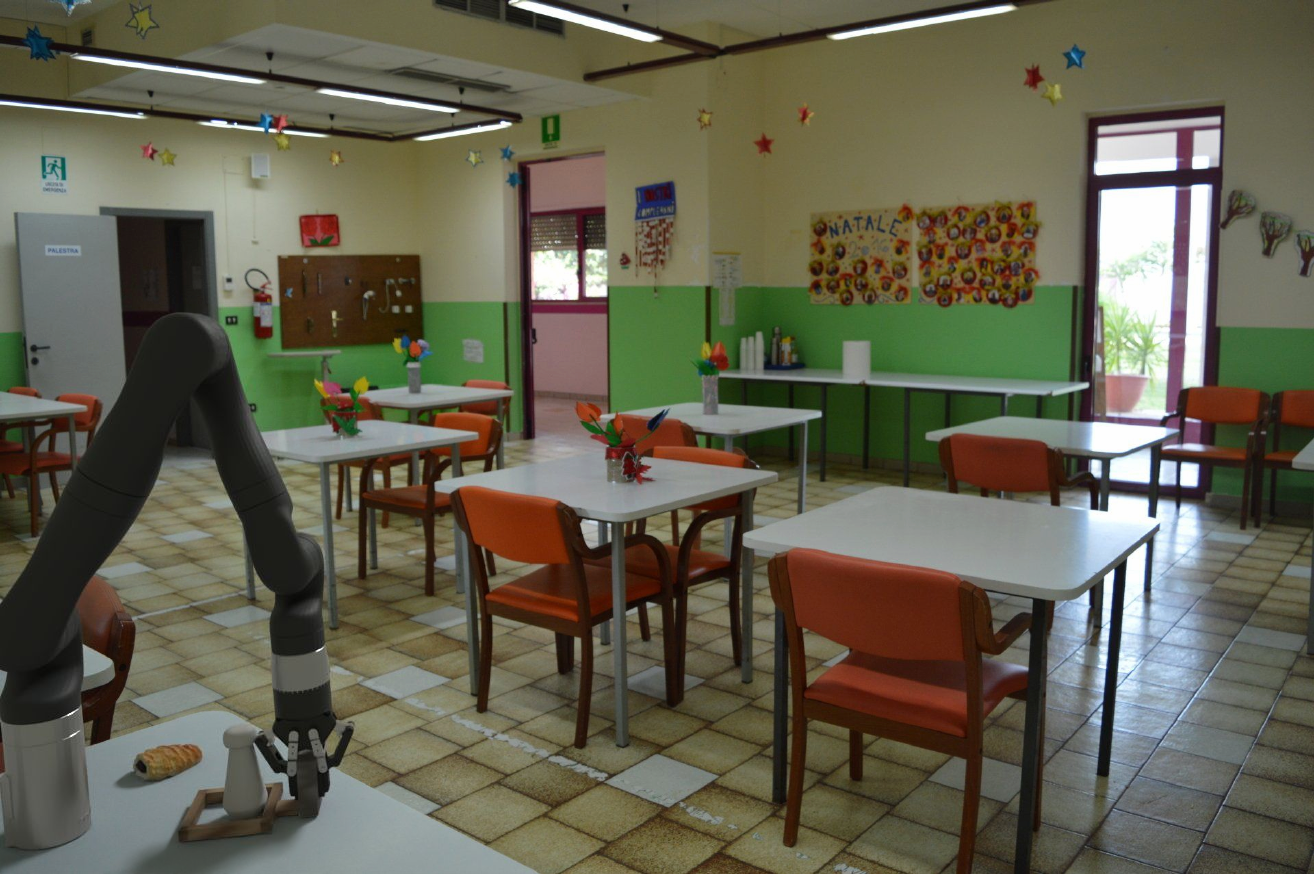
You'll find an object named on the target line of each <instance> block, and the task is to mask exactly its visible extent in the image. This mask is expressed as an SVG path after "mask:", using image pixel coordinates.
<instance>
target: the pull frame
mask: <svg viewBox="0 0 1314 874" xmlns="http://www.w3.org/2000/svg"><path fill="white" fill-rule="evenodd" d="M296 768H297V787H298V800H295V798H291V799H283V800H282V796H283V794H284V783H283V781H278V782H269V783H268V782H267V783H265V786H266V790H267V793H268V798H267V802H266V804H265V807H264V810H263V813H262V816H261V817H259V818H258V819H249V820H239V821H232V820H231V821H221V822H212V823H211V822H210V823H203V824H202V823H201V824H198V822H199V820H200V818H201V815H202V813H203V810H205V806H206V805H207V804H211V803H220V802H222V803H223V797H224V789H225V787H217V788H216V787H215V788H206V789H198V790H197V793H196V795H195V797H194V798H193V800H192V802H191V804H190V807H189V808H188V811H187V813H186V815H185V816H184V819H183V821H182V822H181V825H179V829H178V830H177V832H178V842H181V843H182V842H189V841H199V840H207V839H216V838H217V839H218V838H226V837H227V838H229V837H237V836H245V835H247V836H248V835H254V834H255V835H256V834H265V833H270V832H271V830H272V828H273V824H274V822H275V818H276V817H282V816H283V817H284V816H295V815H298V818H307V817H308V818H309V817H318V816H319V814H320V809H321V805H322V802H323V797H319V790H318V775H317V774H318V770H319V769H318V765H317V759H316V758H315V757H314V753H313V750H307V749H306V750H303V751H300V753H299V756H298V759H297V762H296Z"/></svg>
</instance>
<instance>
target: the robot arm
mask: <svg viewBox="0 0 1314 874" xmlns="http://www.w3.org/2000/svg"><path fill="white" fill-rule="evenodd" d="M236 362H237V361H236V359H235V356H234V351H233V348H232V346H231V341H230V338H229V335H228V332H227V331H226V329H225V328H224V327H223V326H222V325H221V324H220V322H218V321H217V320H215V318H212V317H210V316H208V315H206V314H205V315H204V314H202V313H196V312H184V311H183V312H174V313H169V314H167V315H163V316H162V317H160V318H159V319H156V320H155V321H154V322H153V323H152V324H151V325H150V326H149V327H148V329H147V330H146V331H145V334H144V336H143V338H142V340H141V343H140V344H139V347H138V351H137V352H136V354H135V358H134V360H133V362H132V365H131V368H130V369H129V373H128V375H127V378H126V379H125V382H124V384H123V386H122V388H121V391H120V394H118V395H119V396H118V397H117V399H116V401H115V402H114V405H113V406H112V407H111V409H110V411H109V412H108V414H107V415H106V417H105V418H104V419H103V422H102V423H101V424H100V426H99V427H98V429H97V431H96V432H95V435H94V436H93V438H92V440H91V441H90V442H89V445H88V446H87V448H86V450H85V451H84V453H83V455H82V456H81V458H80V459H79V461H78V463H77V465H76V467H75V468H74V469H73V471H72V473H71V476H70V477H69V479H68V481H67V483H66V485H65V487H63V490H62V492H61V494H60V497H59V498H58V500H57V502H56V504H55V506H54V508H53V510H52V512H51V515H50V516H49V518H48V520H47V523H46V524H45V526H44V528H43V530H42V533H41V535H40V537H39V539H38V542H37V544H36V546H35V548H34V551H33V553H32V554H31V557H30V558H29V560H28V562H27V564H26V565H25V567H24V569H23V570H22V571H21V573H20V574H19V577H18V578H17V579H16V581H15V582H14V583H13V585H12V586H11V588H10V589H9V590H8V592H7V594H6V595H5V597H4V598H2V600H1V602H0V671H2V672H5V673H6V677H5V682H4V686H3V688H2V691H1V693H0V728H1V738H2V739H1V740H2V747H3V748H2V749H3V761H4V773H3V774H2V775H1V777H0V800H1V801H0V802H1V811H2V822H3V830H4V831H3V833H4V842H5V848H8V847H16V848H19V849H22V850H43V849H49V848H53V847H57V846H61V845H63V844H66V843H68V842H71V841H73V840H75V839H77V838H78V837H80V836H82V835H83V834H85V833H86V832H87V831H88V830H89V829H90V827H91V825H92V814H91V812H92V807H91V801H90V789H89V776H88V765H87V753H86V741H85V730H84V729H85V728H84V720H83V708H82V695H81V694H82V688H83V687H82V686H83V682H84V676H85V668H84V667H85V666H84V665H85V664H84V646H83V645H84V643H83V641H84V640H83V628H82V627H83V626H82V620H81V614H80V611H79V609H78V606H77V605H78V602H79V600H80V598H81V596H82V594H83V592H84V591H85V589H86V587H87V586H88V584H89V582H90V581H91V580H92V578H93V577H94V575H95V574H96V573H97V572H98V570H100V568H101V566H102V565H103V564H104V563H105V562H106V561H107V560H108V558H109V557H110V556H111V554H112V553H113V552H114V551H115V550H116V548H117V547H118V546H119V544H120V543H121V541H122V540H123V539H124V537H125V536H126V535H127V533H128V532H129V530H130V529H131V528H132V525H134V523H135V521H136V520H137V518H138V516H139V515H140V513H141V511H142V509H143V508H144V506H145V504H146V502H147V500H148V498H149V497H150V494H151V493H152V491H153V489H154V487H155V484H156V482H157V480H158V477H159V474H160V471H161V468H162V465H163V461H164V459H165V453H166V449H167V448H166V447H167V445H168V441H169V437H170V434H171V432H172V429H173V427H174V425H175V423H176V421H177V420H178V418H179V416H180V414H181V412H182V411H183V409H184V407H185V406H186V405H187V403H188V402H189V401H190V398H192V400H193V402H194V404H195V406H196V407H197V409H198V411H199V413H200V416H201V418H202V420H203V423H204V425H205V429H206V431H207V434H208V438H209V441H210V446H211V449H212V453H213V457H214V462H215V467H216V468H217V472H218V474H219V475H218V476H220V477H219V478H220V480H221V482H222V485H223V487H224V489H225V492H226V494H227V496H228V498H229V500H230V502H231V504H232V506H233V508H234V511H235V512H236V514H237V516H238V518H239V521H240V522H241V524H242V528H243V530H244V531H243V532H244V537H245V541H246V544H247V548H248V552H249V555H250V559H251V562H252V565H253V566H252V567H253V568H254V570H255V571H254V572H256V575H257V577H258V578H259V580H260V582H262V584H263V585H264V586H265V588H267V589H268V590H269V591H270V592H272V593H274V605H273V607H272V610H271V613H270V617H269V623H268V624H269V638H270V649H271V660H270V674H271V684H272V694H273V695H272V697H273V704H274V705H273V706H274V707H273V708H274V709H273V710H274V717H275V719H274V721H273V724H272V726H271V727H270V728H268V729H266V730H259V731H258V732H257V737H256V739H255V743H254V744H255V745H254V746H255V747H257V749H258V751H259V752H260V754H261V755H262V757H263V758H264V760H265V762H266V763H267V764H268V766H269V767H270V769H271V770H272V772H273V773H274V774H276V775H278V774H280V773H281V774H285V775H286V776H287V779H288V780H287V781H288V792H289V793H288V794H289V795H290V797H294V799H295V800H298V787H297V768H296V762H297V759H298V756H299V753H300V751H303V750H306V749H307V750H313V753H314V757H315V758H316V759H317V765H318V769H319V770H318V774H317V775H318V790H319V797H322V798H325V797H326V793H328V792H329V790H330V788H331V787H330V786H331V777H330V769H331V768H338V767H339V766H340V765H341V764H342V763H341V762H342V761H343V758H344V756H345V755H346V751H347V749H348V746H349V744H350V741H351V740H352V737H353V735H354V731H355V727H356V724H355V722H354V721H353V720H349V721H347V722H346V721H343V720H339V719H338V717H337V715H336V714H335V712H334V711H333V702H332V688H331V675H330V673H331V667H330V663H329V662H330V661H329V655H328V652H327V647H326V635H325V624H324V617H323V601H324V600H323V599H324V587H325V558H324V554H323V551H322V548H321V546H320V544H319V542H318V541H317V540H316V539H315V538H314V537H312V536H310V535H309V534H307V533H302V532H297V530H296V528H295V524H294V521H293V517H292V515H293V514H292V513H293V510H294V504H293V501H292V496H291V495H290V493H289V491H288V489H287V486H286V484H285V482H284V480H283V478H282V475H281V473H280V471H279V469H278V467H277V465H276V463H275V461H274V459H273V456H272V454H271V453H270V450H269V448H268V446H267V444H266V442H265V439H264V437H263V435H262V433H261V432H260V429H259V427H258V425H257V422H256V419H255V417H254V415H253V412H252V410H251V408H250V404H249V402H248V399H247V396H246V393H245V391H244V388H243V384H242V381H241V377H240V374H239V369H238V367H237V363H236ZM334 730H336V736H337V738H338V739H339V740H338V742H337V745H336V747H335V749H334V753H332V754H331V755H329V753H328V748H327V742H326V741H327V740H328V738H329V737H330V736H331V734H332V732H333V731H334ZM275 737H277V738H278V739H279V740H280V742H281V743H283V745H284V746H286V748H287V760H285V759H284V757H283V756H282V754H281V753H280V751H279V749H278V748H277V746H276V745H275V741H276V738H275Z"/></svg>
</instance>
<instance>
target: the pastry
mask: <svg viewBox="0 0 1314 874" xmlns="http://www.w3.org/2000/svg"><path fill="white" fill-rule="evenodd" d="M135 757H136V758H135V759H134V760H133V764H132V769H133V770H134V773H135V775H136V776H137V777H140V778H142V779H143V780H146V781H150V782H151V781H153V782H154V781H156V782H157V781H160V780H164V779H165V778H167V777H169V776H171V777H173V776H176V775H178V774H179V775H180V773H182V772H185V771H187V770H189V769H191V768H193V767H195V766H196V765H197V764H199V762H201V761H202V759H203V752H202V749H200V747H199V746H198V745H196V744H192V743H186V744H183V745H181V744H174V743H173V744H169V745H157V746H156V747H155V748H149V749H146V750H144V751H143V752H140V753H137V754H136V756H135Z"/></svg>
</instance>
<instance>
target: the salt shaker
mask: <svg viewBox="0 0 1314 874" xmlns="http://www.w3.org/2000/svg"><path fill="white" fill-rule="evenodd" d="M257 735H258V732H257V729H256V727H255V726H254V725H253V724H250V723H237V724H234V725H231V726H230V727H228V728H227V729H225V731H224V732H223V734H222V744H223V745H224V747H225V748H226V749H228V755H227V765H226V766H227V767H226V774H225V781H224V788H225V789H224V797H223V802H222V809H224V811H225V812H226V814H227V815H228V817H229V818H230V820H231V821H239V820H249V819H259V818H261V815H263V813H264V810H265V807H266V804H267V801H268V798H269V797H268V793H267V790H266V786H265V784H266V782H265V780H264V776H263V772H262V769H261V766H260V763H259V760H258V755H257V752H256V748H255V745H254V744H255V739H256V737H257Z"/></svg>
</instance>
